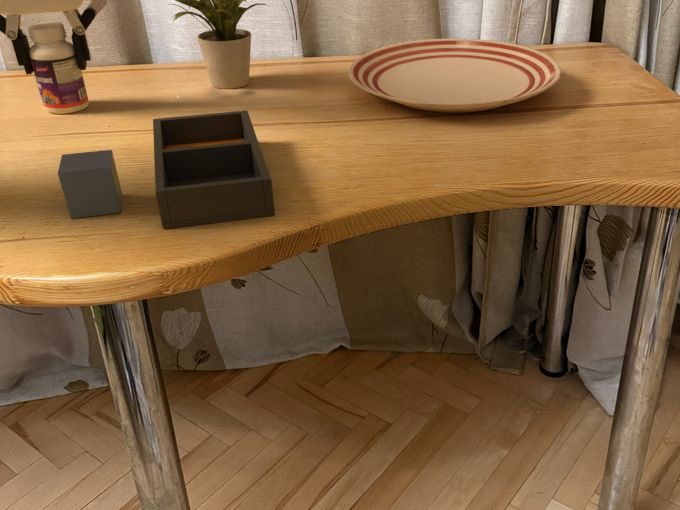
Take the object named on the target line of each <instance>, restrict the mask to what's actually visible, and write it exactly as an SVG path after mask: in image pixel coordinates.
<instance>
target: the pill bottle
mask: <svg viewBox="0 0 680 510" xmlns="http://www.w3.org/2000/svg"><path fill="white" fill-rule="evenodd" d="M27 30H28V35H29V38H30V41H32V42H33V44H32V45H31V46H30V49H29V56H30V60H31V64H32V67H33V74H34V78H35V81H36V85H37V88H38V91H39V96H40V99H41V103H42V106H43V108H44V110H45V111H46V112H48V113H51V114H56V115H57V114H59V115H63V114H65V115H66V114H72V113H76V112H79V111H83V110H84V109H86V108H87V107H89V105H90V102H89V101H90V100H89V96H88V93H87V88H86V84H85V79H84V76H83V73H82V71H83V70H81V69H79V67H78V63H77V59H76V54H75V50H74V46H73V42H70V41H67V40H66V38H67V32H66V28H65V26H64V24H63V22H60V21H59V22H58V21H45V22H43V21H42V22H38V23H34V24H31V25H29V26H28V27H27Z"/></svg>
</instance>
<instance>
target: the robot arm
mask: <svg viewBox="0 0 680 510" xmlns="http://www.w3.org/2000/svg"><path fill="white" fill-rule="evenodd" d="M83 3H84V0H0V32H1V33H2V34H3V35H5V36H6V37H7V39H8V40H10V41H11V45H12V47H13V52H14V55H15V58H16V61H17V64H18V66H19V67H22V66H23V68H24V71H25V74H26V75H32V74H34V71H33V67H32V64H31V60H30V56H29V49H30V47H31V46H30V43H29V40H28V36H27V35H26V34H25V33H24V31H23V29H22V28H21V23H22V22H21V21H22V15H31V14H48V13H49V14H50V13H61V12H62V13H63V14H64V16H65V18H66V20H67V21H68V23H69V25H70V27H71V28H72V29H71V31H72V34H71V43H72V44H73V46H74V50H75V54H76V59H77V63H78V67H79V69H81V71H86V70H87V66H88V62H89V61H90V62H91V61H92V57H91V52H90V48H89V45H88V40H87V35H86V31H87V30H88V28H89V27H90V25H91V24H92V22H93V21H94V20H95V18H96V17H97V16H98V14H99V13H100V12H101V11H102V9H104V7H106V5H107V3H108V0H91V1H90V3H89V4H88V5H87V7H85V9H84V10H83V12H82V13H81V12H80V11H79V8H80V7H81V6H82V5H83ZM3 15H6V17H5V16H3Z"/></svg>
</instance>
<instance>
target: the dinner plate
mask: <svg viewBox="0 0 680 510" xmlns="http://www.w3.org/2000/svg"><path fill="white" fill-rule="evenodd" d="M561 75H562V70H561V67H560V64H559V63H558V62H557V61H556V60H555V59H554V58H552V57H551V56H550V55H548V54H546V53H544V52H542V51H540V50H537V49H535V48H532V47H530V46H529V47H528V46H524V45H521V44H516V43H513V42H512V43H511V42H505V41H498V40H490V39H478V38H430V39H429V38H428V39H418V40H412V41H404V42H400V43H394V44H390V45H385V46H381V47H379V48H376V49H373V50H370V51H369V52H366V53H364V54H362V55H361V56H359V57H357V58H356V59H355V60H354V61H353V62H352V63H351V64H350V66H349V68H348V77H349V79H350V80H351V82H352V83H353V85H355V86H356V87H358V88H359V89H361V90H363V91H364V92H366V93H368V94H369V93H370V94H372V95H374V96H377V97H380V98H382V99H385V100H387V101H391V102H394V103H397V104H399V105H401V106H404V107H409V108H411V109H416V110H421V111H427V112H438V113H450V114H451V113H456V114H457V113H474V112H482V111H489V110H493V109H498V108H501V107H504V106H507V105H511V104H515V103H518V102H522V101H525V100H527V99H531V98H532V97H535V96H538V95H540V94H541V93H544V92H545V91H547V90H549V89H550V88H551V87H553V86H554V85H556V84H557V82H558V81H559V80H560V79H561Z"/></svg>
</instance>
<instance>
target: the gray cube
mask: <svg viewBox="0 0 680 510" xmlns="http://www.w3.org/2000/svg"><path fill="white" fill-rule="evenodd" d="M59 161H60V162H59V166H58V171H57V176H58V179H59V183H60V186H61V190H62V193H63V197H64V199H65V204H66V207H67V211H68V214H69V218H70V219H71V220H72V219H81V218H88V217H98V216H105V215H114V214H122V205H123V192H122V187H121V183H120V178H119V174H118V170H117V164H116V161H115V157H114V153H113V150H112V149H106V150H104V149H103V150H95V151H86V152H75V153H64V154H62V155H61V157H60V160H59Z"/></svg>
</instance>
